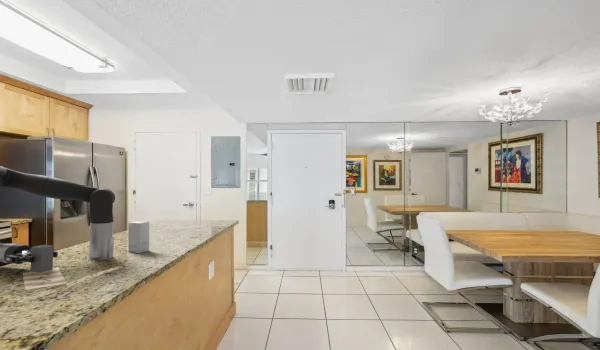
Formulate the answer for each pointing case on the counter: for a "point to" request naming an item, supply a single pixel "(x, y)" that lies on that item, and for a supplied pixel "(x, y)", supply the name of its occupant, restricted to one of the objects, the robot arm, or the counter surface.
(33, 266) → the block
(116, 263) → the counter surface
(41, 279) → the pine board
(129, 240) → the skincare box
